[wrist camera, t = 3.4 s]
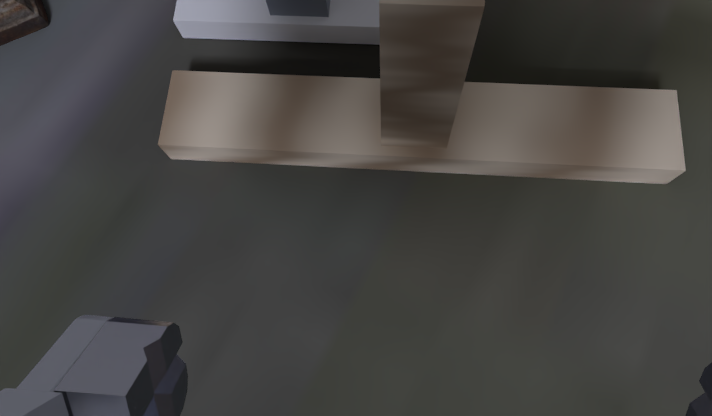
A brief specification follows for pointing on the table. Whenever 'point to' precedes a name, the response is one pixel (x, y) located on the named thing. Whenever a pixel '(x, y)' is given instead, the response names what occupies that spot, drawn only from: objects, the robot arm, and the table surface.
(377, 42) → the ridge stand
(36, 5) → the clothes iron
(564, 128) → the balance beam
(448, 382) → the table surface
